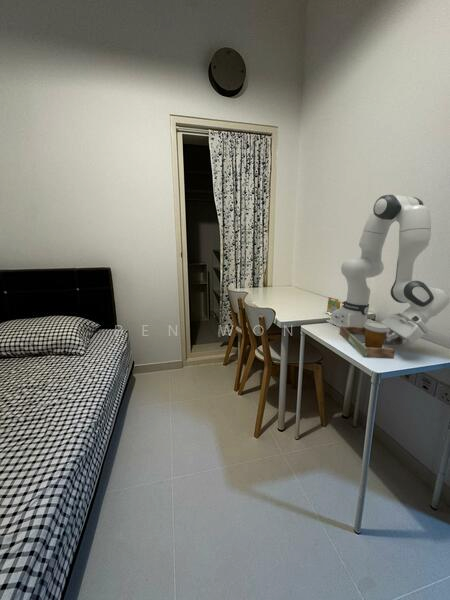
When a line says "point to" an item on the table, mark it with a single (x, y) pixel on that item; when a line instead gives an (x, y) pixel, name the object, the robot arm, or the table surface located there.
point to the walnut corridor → (361, 348)
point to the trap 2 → (390, 342)
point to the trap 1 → (360, 337)
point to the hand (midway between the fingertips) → (385, 339)
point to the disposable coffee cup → (375, 334)
